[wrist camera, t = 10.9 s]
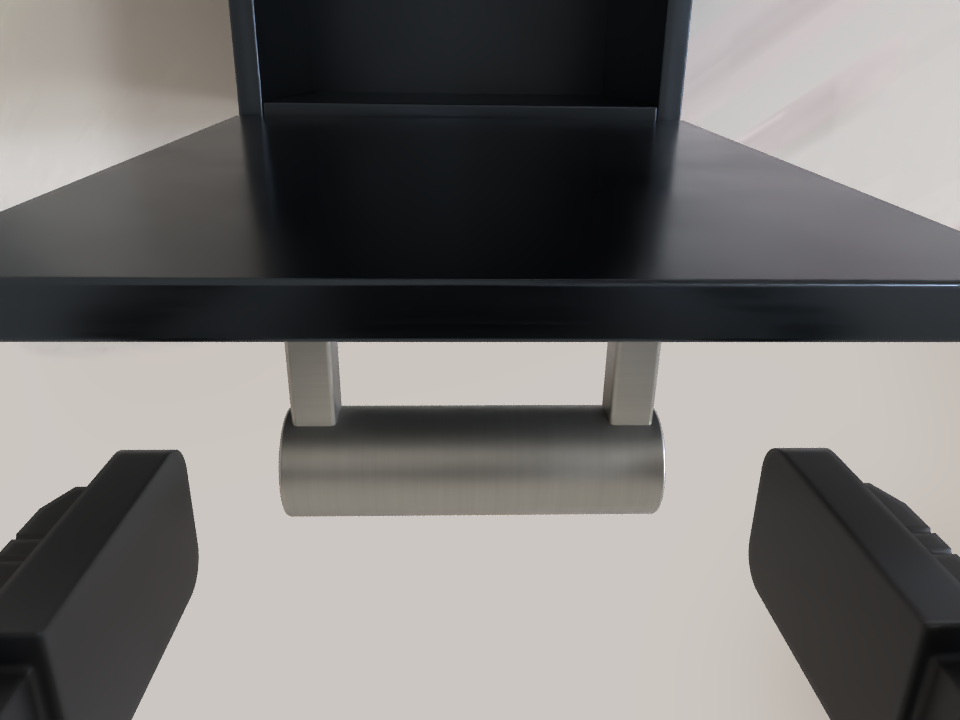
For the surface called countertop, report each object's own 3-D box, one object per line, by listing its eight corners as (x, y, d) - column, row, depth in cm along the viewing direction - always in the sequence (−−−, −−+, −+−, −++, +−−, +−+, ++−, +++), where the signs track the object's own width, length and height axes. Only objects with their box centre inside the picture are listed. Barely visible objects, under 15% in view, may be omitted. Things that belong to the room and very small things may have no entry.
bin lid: (-169, 277, 9) (-56, 613, 10) (1093, 282, 9) (981, 600, 11) (234, 115, 24) (250, 260, 26) (684, 120, 25) (668, 261, 27)
